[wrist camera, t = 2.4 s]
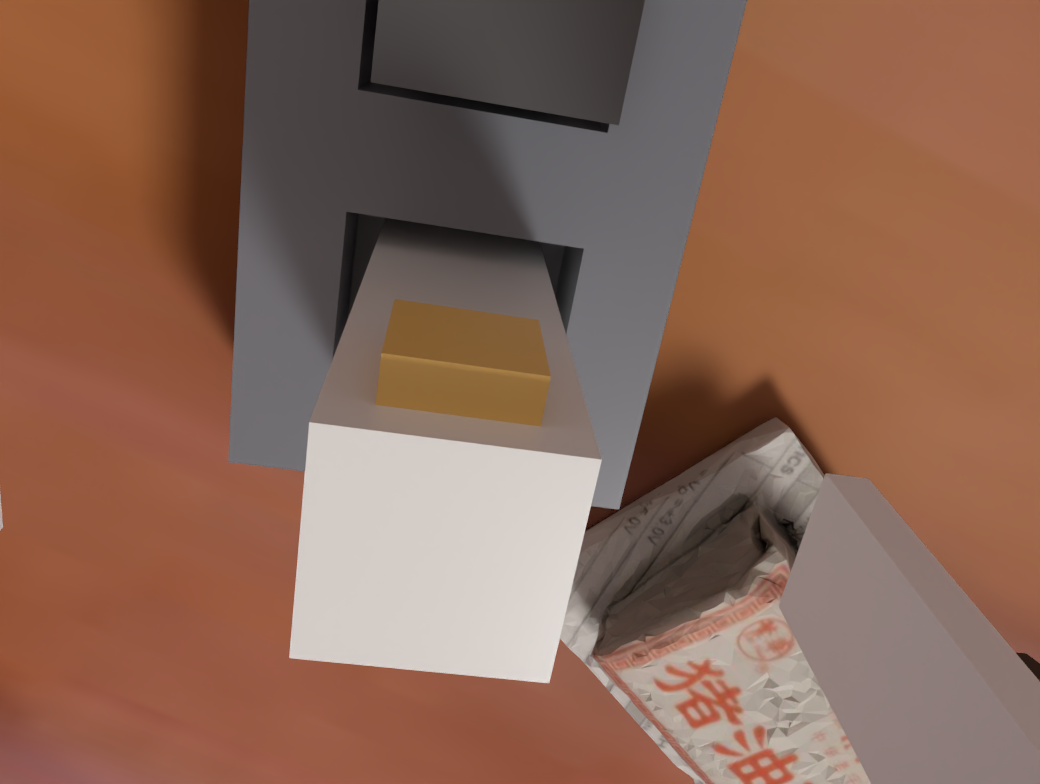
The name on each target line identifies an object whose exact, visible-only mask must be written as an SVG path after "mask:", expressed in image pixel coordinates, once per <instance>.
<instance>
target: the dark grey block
mask: <svg viewBox="0 0 1040 784" xmlns="http://www.w3.org/2000/svg"><path fill="white" fill-rule="evenodd" d="M644 3H645V0H379V2H378V12H377V22H376V32H375V42H374V52H373V62H372V72H371V82H372V83H378V84H384V85H389V86H395V87H401V88H407V89H412V90H418V91H424V92H430V93H435V94H441V95H447V96H453V97H458V98H464V99H470V100H476V101H481V102H487V103H493V104H499V105H504V106H510V107H516V108H522V109H527V110H533V111H539V112H545V113H550V114H556V115H562V116H568V117H573V118H579V119H585V120H591V121H596V122H602V123H608V124H614V125H619V123H620V118H621V113H622V108H623V104H624V99H625V94H626V89H627V84H628V80H629V75H630V70H631V65H632V60H633V56H634V51H635V46H636V41H637V37H638V32H639V27H640V22H641V17H642V13H643V8H644Z"/></svg>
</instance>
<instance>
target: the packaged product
mask: <svg viewBox="0 0 1040 784" xmlns="http://www.w3.org/2000/svg"><path fill="white" fill-rule="evenodd" d="M824 477H825V475H824V474H823V472H822V471H821V469H820V468H819V466H818V464H817V463H816V461H815V460H814V458H813V457H812V455H811V454H810V453H809V452H808V450H807V449H806V448H805V447H804V445H803V444H802V443H801V442H800V440H799V439H798V438H797V437H796V435H795V434H794V433H793V431H792V430H791V429H790V428H789V427H788V426H787V425H786V424H784V423H783V422H782V421H781V420H779V419H778V418H777V417H775V418H773V419H771V420H769V421H767V422H765V423H763V424H761V425H759V426H757V427H756V428H754V429H753V430H751V431H749V432H748V433H746V434H744V435H743V436H741V437H740V438H738V439H736V440H735V441H733V442H731V443H730V444H728V445H726V446H725V447H723V448H722V449H720V450H718V451H717V452H715V453H713V454H712V455H710V456H709V457H707V458H705V459H704V460H702V461H700V462H699V463H697V464H695V465H694V466H692V467H691V468H689V469H687V470H686V471H684V472H683V473H681V474H680V475H678V476H677V477H675V478H673V479H671V480H670V481H668V482H666V483H664V484H663V485H661V486H659V487H658V488H656V489H654V490H653V491H651V492H649V493H648V494H646V495H644V496H642V497H641V498H639V499H637V500H636V501H634V502H633V503H631V504H629V505H628V506H626V507H624V508H623V509H621V510H620V511H618V512H616V513H615V514H613V515H611V516H610V517H608V518H606V519H605V520H603V521H602V522H600V523H598V524H597V525H595V526H593V527H592V528H590V529H589V530H587V531H585V533H584V538H583V542H582V546H581V550H580V555H579V559H578V563H577V567H576V571H575V576H574V580H573V584H572V588H571V593H570V597H569V601H568V605H567V610H566V614H565V618H564V622H563V627H562V631H561V635H560V639H561V640H562V641H563V642H564V643H565V644H566V645H567V646H568V648H569V649H570V650H571V651H572V652H574V653H575V654H576V655H577V656H578V657H579V658H580V659H581V660H582V661H583V662H584V663H585V664H586V665H587V667H588V668H589V669H590V670H591V671H592V672H593V673H594V674H595V676H596V677H597V678H598V679H599V680H600V681H601V682H602V683H603V685H604V686H605V687H606V688H607V689H608V691H609V692H610V693H611V694H612V695H613V696H614V697H615V698H616V699H617V700H618V702H619V703H620V704H621V705H622V706H623V707H624V708H625V710H626V711H627V712H628V713H629V714H630V715H631V716H632V717H633V719H634V720H635V721H636V722H637V723H638V724H639V725H640V726H641V727H642V728H643V730H644V731H645V732H646V733H647V734H648V735H649V736H650V737H651V738H652V739H653V740H654V741H655V742H656V744H657V745H658V746H659V748H660V749H661V750H662V751H663V752H664V753H665V754H666V755H667V757H668V758H669V759H670V760H671V761H672V762H673V763H674V764H675V765H676V766H677V767H678V768H680V769H681V770H683V771H684V772H686V773H687V774H688V775H690V776H691V777H692V778H693V781H694V783H695V784H871V782H870V780H869V778H868V776H867V774H866V773H865V771H864V769H863V767H862V765H861V763H860V761H859V759H858V757H857V755H856V753H855V752H854V750H853V748H852V746H851V744H850V742H849V740H848V738H847V736H846V734H845V732H844V731H843V729H842V727H841V725H840V723H839V721H838V719H837V717H836V715H835V713H834V711H833V710H832V708H831V706H830V704H829V702H828V700H827V698H826V696H825V694H824V692H823V690H822V689H821V687H820V685H819V683H818V681H817V679H816V677H815V675H814V673H813V671H812V669H811V668H810V666H809V664H808V662H807V660H806V658H805V656H804V654H803V652H802V650H801V648H800V647H799V645H798V643H797V641H796V639H795V637H794V635H793V633H792V631H791V629H790V627H789V625H788V624H787V622H786V620H785V618H784V616H783V614H782V612H781V610H780V608H779V603H780V600H781V598H782V595H783V592H784V589H785V586H786V584H787V581H788V578H789V575H790V572H791V569H792V567H793V564H794V561H795V558H796V555H797V553H798V550H799V547H800V544H801V541H802V538H803V536H804V533H805V530H806V527H807V524H808V522H809V519H810V516H811V513H812V510H813V508H814V505H815V502H816V499H817V496H818V493H819V491H820V488H821V485H822V482H823V479H824Z"/></svg>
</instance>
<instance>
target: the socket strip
mask: <svg viewBox="0 0 1040 784" xmlns="http://www.w3.org/2000/svg"><path fill="white" fill-rule="evenodd" d="M378 2H379V0H249V16H248V38H247V61H246V83H245V105H244V127H243V150H242V172H241V194H240V216H239V239H238V261H237V283H236V305H235V327H234V350H233V372H232V394H231V416H230V439H229V461H228V462H232V463H240V464H249V465H257V466H265V467H273V468H281V469H290V470H298V471H305V466H306V454H307V443H308V431H309V421H310V419H311V416H312V413H313V411H314V408H315V405H316V403H317V400H318V397H319V395H320V392H321V389H322V387H323V384H324V381H325V379H326V376H327V373H328V371H329V368H330V365H331V363H332V360H333V357H334V355H335V352H336V349H337V347H338V344H339V341H340V339H341V336H342V333H343V331H344V328H345V325H346V323H347V320H348V317H349V314H350V312H351V309H352V306H353V304H354V301H355V298H356V296H357V293H358V290H359V288H360V285H361V282H362V280H363V277H364V274H365V272H366V269H367V266H368V264H369V261H370V258H371V256H372V253H373V250H374V248H375V245H376V242H377V240H378V237H379V234H380V232H381V229H382V226H383V224H384V221H385V218H391V219H397V220H403V221H410V222H416V223H423V224H429V225H435V226H442V227H448V228H455V229H461V230H467V231H474V232H480V233H487V234H493V235H499V236H506V237H512V238H519V239H525V240H531V241H538V242H540V246H541V249H542V253H543V256H544V260H545V263H546V267H547V270H548V274H549V277H550V281H551V284H552V288H553V291H554V295H555V298H556V302H557V305H558V308H559V312H560V315H561V319H562V322H563V326H564V329H565V333H566V336H567V340H568V343H569V347H570V350H571V354H572V357H573V361H574V364H575V368H576V371H577V375H578V378H579V382H580V385H581V389H582V392H583V396H584V399H585V403H586V406H587V410H588V413H589V416H590V420H591V423H592V427H593V430H594V434H595V437H596V441H597V444H598V448H599V451H600V455H601V458H602V461H601V466H600V470H599V474H598V478H597V483H596V487H595V491H594V495H593V499H592V504H591V506H594V507H602V508H611V509H619V508H620V504H621V500H622V496H623V492H624V488H625V484H626V480H627V476H628V472H629V468H630V464H631V460H632V456H633V452H634V448H635V444H636V440H637V436H638V432H639V428H640V424H641V420H642V416H643V412H644V408H645V404H646V400H647V396H648V392H649V388H650V384H651V380H652V376H653V372H654V368H655V364H656V360H657V356H658V352H659V348H660V344H661V340H662V336H663V332H664V328H665V324H666V321H667V317H668V313H669V309H670V305H671V301H672V297H673V293H674V289H675V285H676V281H677V277H678V273H679V269H680V265H681V261H682V257H683V253H684V249H685V245H686V241H687V237H688V233H689V229H690V225H691V221H692V217H693V213H694V209H695V205H696V201H697V197H698V193H699V189H700V185H701V181H702V177H703V173H704V169H705V165H706V161H707V157H708V153H709V149H710V145H711V141H712V137H713V133H714V130H715V126H716V122H717V118H718V114H719V110H720V106H721V102H722V98H723V94H724V90H725V86H726V82H727V78H728V74H729V70H730V66H731V62H732V58H733V54H734V50H735V46H736V42H737V38H738V34H739V30H740V26H741V22H742V18H743V14H744V10H745V6H746V2H747V0H645V3H644V8H643V13H642V17H641V22H640V27H639V32H638V37H637V41H636V46H635V51H634V56H633V60H632V65H631V70H630V75H629V80H628V84H627V89H626V94H625V99H624V104H623V108H622V113H621V118H620V123H619V125H614V124H608V123H602V122H596V121H591V120H585V119H579V118H573V117H568V116H562V115H556V114H550V113H545V112H539V111H533V110H527V109H522V108H516V107H510V106H504V105H499V104H493V103H487V102H481V101H476V100H470V99H464V98H458V97H453V96H447V95H441V94H435V93H430V92H424V91H418V90H412V89H407V88H401V87H395V86H389V85H384V84H378V83H372V82H371V72H372V62H373V52H374V42H375V32H376V22H377V12H378Z"/></svg>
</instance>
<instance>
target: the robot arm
mask: <svg viewBox="0 0 1040 784" xmlns="http://www.w3.org/2000/svg"><path fill="white" fill-rule="evenodd" d="M2 528H3V522H2V509H1V496H0V530H1V529H2ZM779 608H780V610H781V612H782V614H783V616H784V618H785V620H786V622H787V624H788V625H789V627H790V629H791V631H792V633H793V635H794V637H795V639H796V641H797V643H798V645H799V647H800V648H801V650H802V652H803V654H804V656H805V658H806V660H807V662H808V664H809V666H810V668H811V669H812V671H813V673H814V675H815V677H816V679H817V681H818V683H819V685H820V687H821V689H822V690H823V692H824V694H825V696H826V698H827V700H828V702H829V704H830V706H831V708H832V710H833V711H834V713H835V715H836V717H837V719H838V721H839V723H840V725H841V727H842V729H843V731H844V732H845V734H846V736H847V738H848V740H849V742H850V744H851V746H852V748H853V750H854V752H855V753H856V755H857V757H858V759H859V761H860V763H861V765H862V767H863V769H864V771H865V773H866V774H867V776H868V778H869V780H870V782H871V784H1040V664H1039V663H1038V662H1037V661H1035V660H1034V659H1033V658H1031V657H1030V656H1029V655H1028V654H1025V653H1015V651H1014V650H1013V649H1012V648H1011V647H1010V646H1009V644H1008V643H1007V642H1006V641H1005V640H1004V638H1003V637H1002V636H1001V635H1000V634H999V632H998V631H997V630H996V629H995V628H994V627H993V625H992V624H991V623H990V622H989V621H988V619H987V618H986V617H985V616H984V615H983V614H982V612H981V611H980V610H979V609H978V608H977V606H976V605H975V604H974V603H973V602H972V601H971V599H970V598H969V597H968V596H967V595H966V593H965V592H964V591H963V590H962V589H961V587H960V586H959V585H958V584H957V583H956V582H955V580H954V579H953V578H952V577H951V576H950V574H949V573H948V572H947V571H946V570H945V569H944V567H943V566H942V565H941V564H940V563H939V561H938V560H937V559H936V558H935V557H934V556H933V554H932V553H931V552H930V551H929V550H928V548H927V547H926V546H925V545H924V544H923V542H922V541H921V540H920V539H919V538H918V537H917V535H916V534H915V533H914V532H913V531H912V529H911V528H910V527H909V526H908V525H907V524H906V522H905V521H904V520H903V519H902V518H901V516H900V515H899V514H898V513H897V512H896V510H895V509H894V508H893V507H892V506H891V505H890V503H889V502H888V501H887V500H886V499H885V497H884V496H883V495H882V494H881V493H880V492H879V490H878V489H877V488H876V487H875V486H874V484H873V483H872V482H871V481H870V480H869V479H868V478H860V477H852V476H844V475H836V474H828V473H826V474H825V477H824V479H823V482H822V485H821V488H820V491H819V493H818V496H817V499H816V502H815V505H814V508H813V510H812V513H811V516H810V519H809V522H808V524H807V527H806V530H805V533H804V536H803V538H802V541H801V544H800V547H799V550H798V553H797V555H796V558H795V561H794V564H793V567H792V569H791V572H790V575H789V578H788V581H787V584H786V586H785V589H784V592H783V595H782V598H781V600H780V603H779Z"/></svg>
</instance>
